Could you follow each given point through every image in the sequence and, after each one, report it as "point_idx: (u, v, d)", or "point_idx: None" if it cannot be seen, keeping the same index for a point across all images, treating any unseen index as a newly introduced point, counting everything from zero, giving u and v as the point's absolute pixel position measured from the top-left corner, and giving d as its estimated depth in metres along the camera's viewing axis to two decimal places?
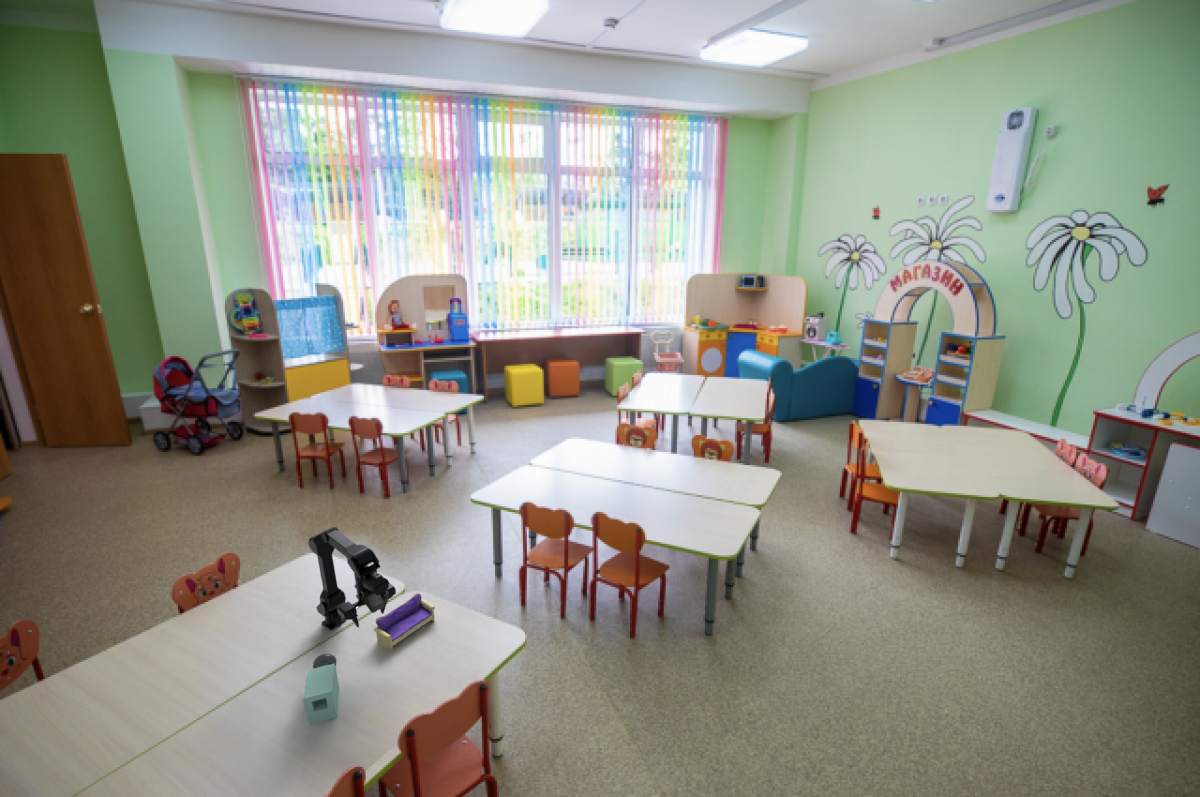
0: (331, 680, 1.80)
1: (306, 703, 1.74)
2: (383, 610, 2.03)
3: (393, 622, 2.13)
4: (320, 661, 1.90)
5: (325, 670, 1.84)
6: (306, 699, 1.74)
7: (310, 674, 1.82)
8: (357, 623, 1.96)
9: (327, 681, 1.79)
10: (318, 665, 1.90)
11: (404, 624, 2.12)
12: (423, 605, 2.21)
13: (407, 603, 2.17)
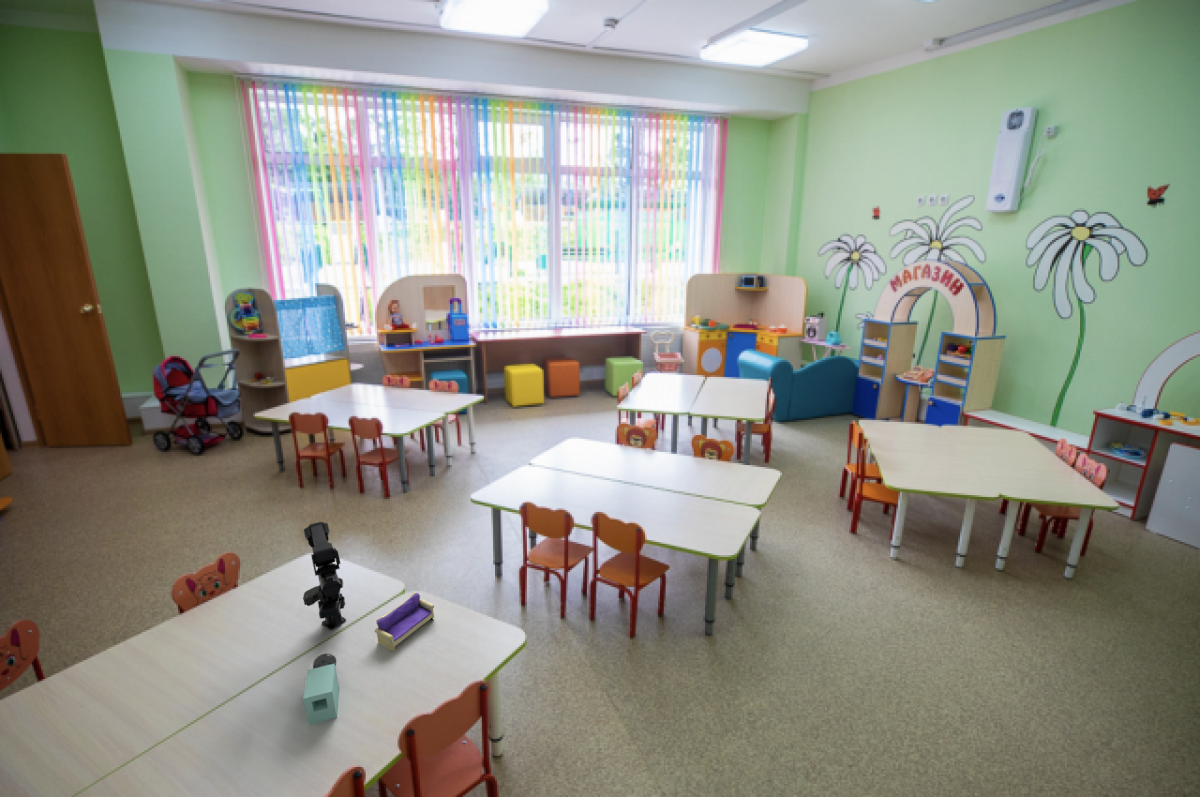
0: (331, 680, 1.80)
1: (306, 703, 1.74)
2: None
3: (393, 622, 2.12)
4: (320, 661, 1.90)
5: (325, 670, 1.84)
6: (306, 699, 1.74)
7: (310, 674, 1.82)
8: None
9: (327, 681, 1.79)
10: (318, 665, 1.90)
11: (404, 624, 2.12)
12: (422, 604, 2.22)
13: (407, 603, 2.17)
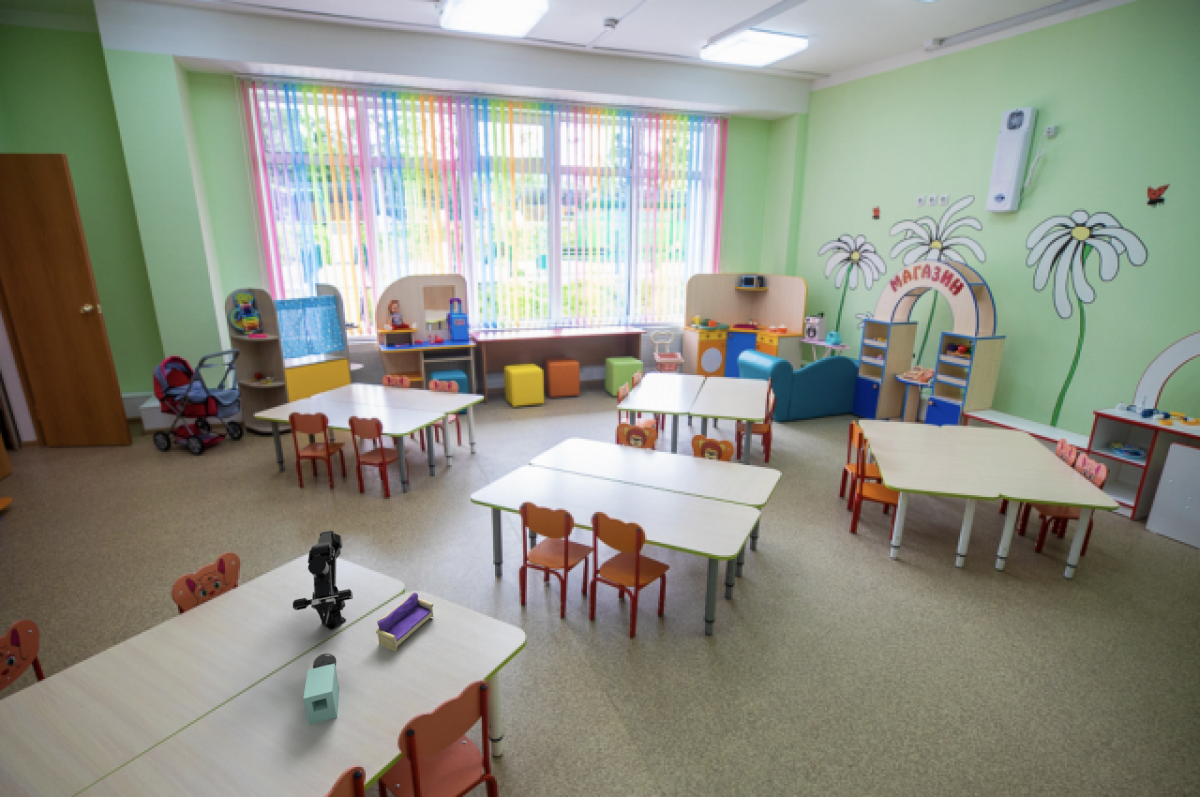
0: (331, 680, 1.80)
1: (306, 703, 1.74)
2: None
3: (394, 623, 2.12)
4: (320, 661, 1.90)
5: (325, 670, 1.84)
6: (306, 699, 1.74)
7: (310, 674, 1.82)
8: None
9: (327, 681, 1.79)
10: (318, 665, 1.90)
11: (405, 624, 2.12)
12: (420, 604, 2.22)
13: (406, 603, 2.17)
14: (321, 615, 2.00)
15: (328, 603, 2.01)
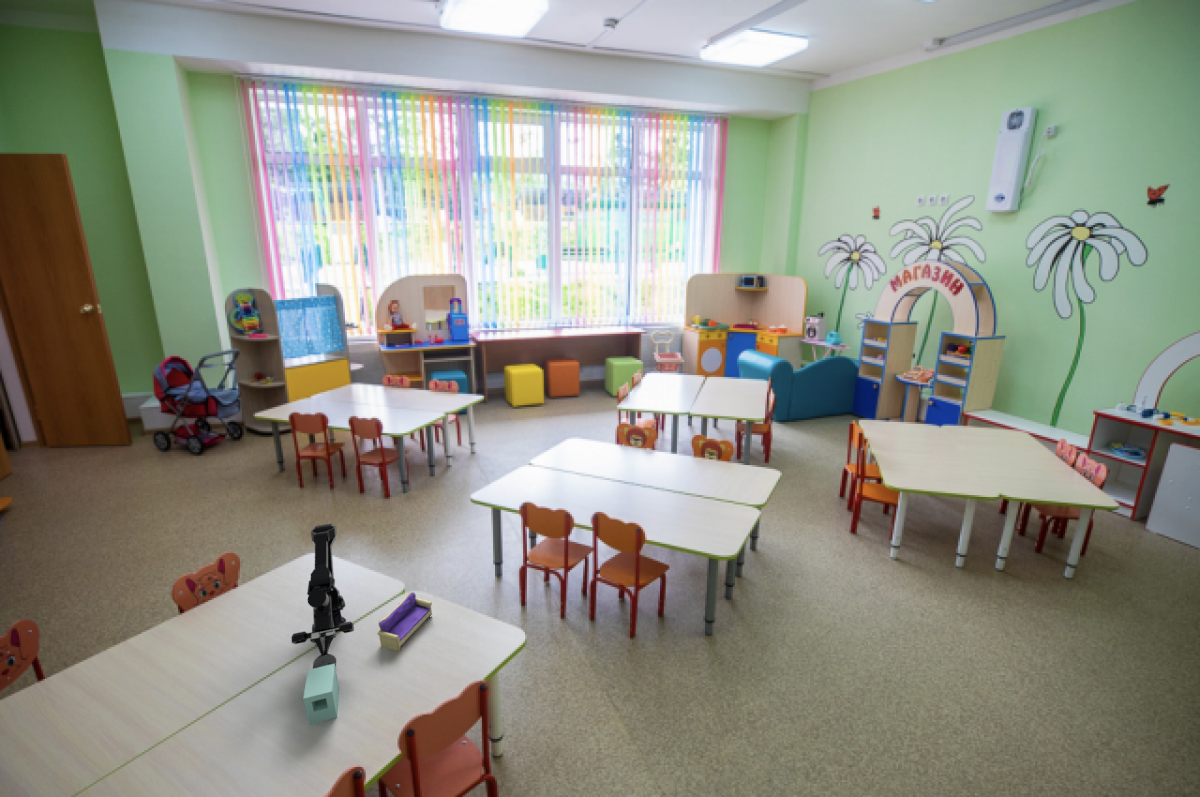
0: (331, 680, 1.80)
1: (306, 703, 1.74)
2: None
3: (394, 623, 2.12)
4: (320, 661, 1.90)
5: (325, 670, 1.84)
6: (306, 699, 1.74)
7: (310, 674, 1.82)
8: None
9: (327, 681, 1.79)
10: (318, 665, 1.90)
11: (406, 623, 2.12)
12: (418, 603, 2.22)
13: (405, 603, 2.17)
14: (321, 649, 1.92)
15: (328, 637, 1.93)
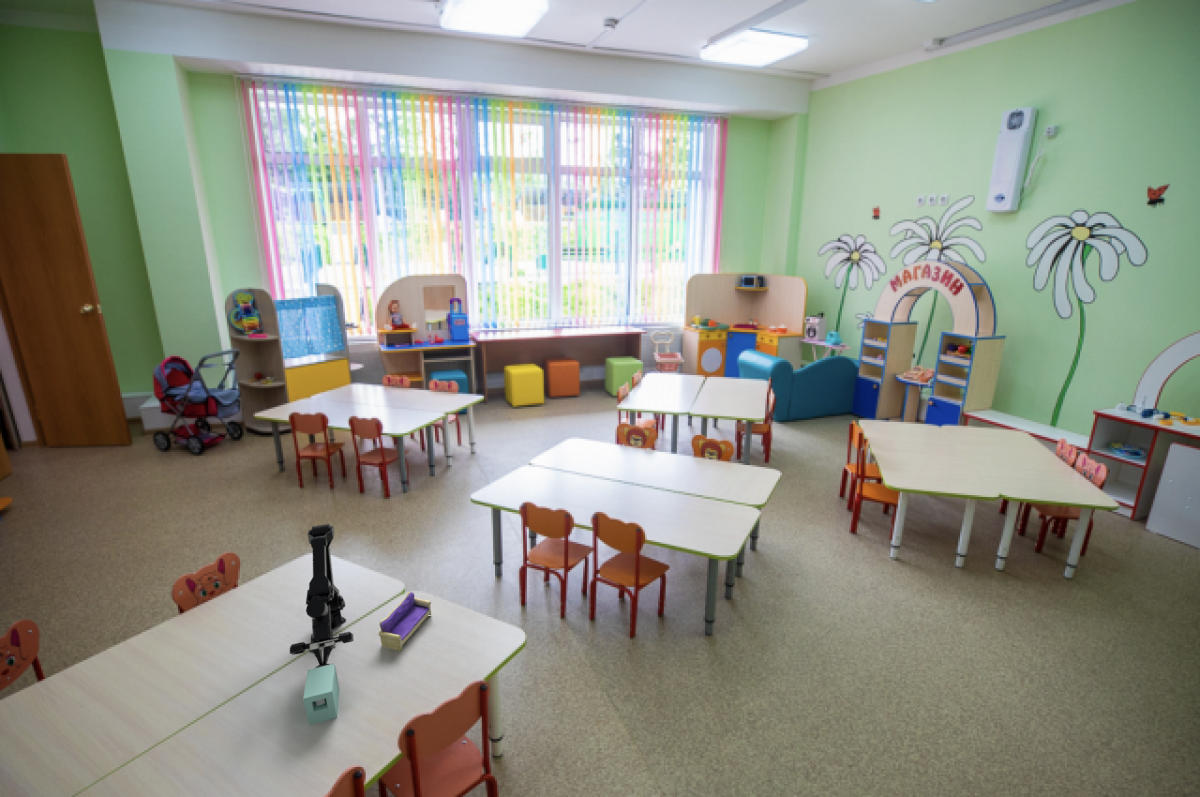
0: (331, 680, 1.80)
1: (306, 703, 1.74)
2: None
3: (394, 624, 2.12)
4: None
5: (325, 670, 1.84)
6: (306, 699, 1.74)
7: (310, 674, 1.82)
8: None
9: (327, 681, 1.79)
10: None
11: (407, 623, 2.13)
12: (417, 603, 2.23)
13: (404, 603, 2.17)
14: (320, 660, 1.88)
15: (327, 647, 1.89)
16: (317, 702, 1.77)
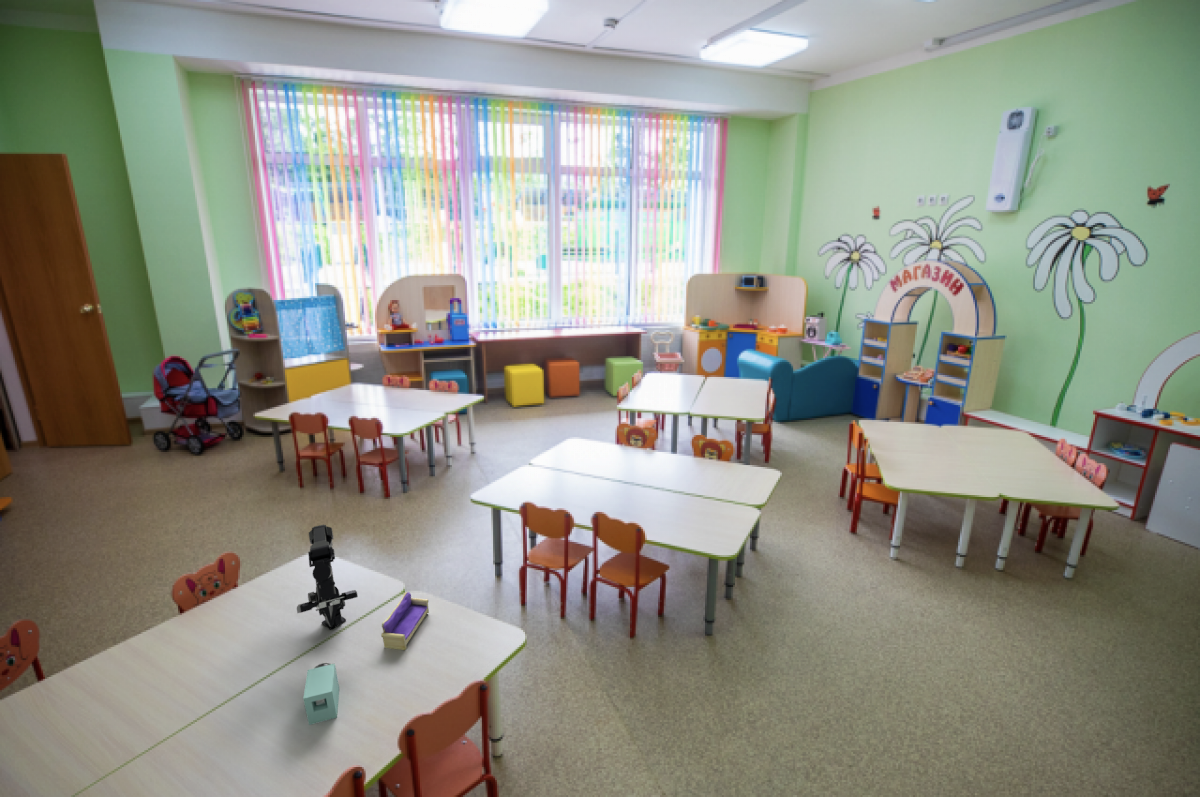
0: (331, 680, 1.80)
1: (306, 703, 1.74)
2: None
3: (395, 624, 2.12)
4: None
5: (325, 670, 1.84)
6: (306, 699, 1.74)
7: (310, 674, 1.82)
8: None
9: (327, 681, 1.79)
10: None
11: (408, 623, 2.13)
12: (414, 602, 2.23)
13: (403, 603, 2.17)
14: (329, 617, 1.98)
15: (336, 605, 2.00)
16: (317, 702, 1.77)
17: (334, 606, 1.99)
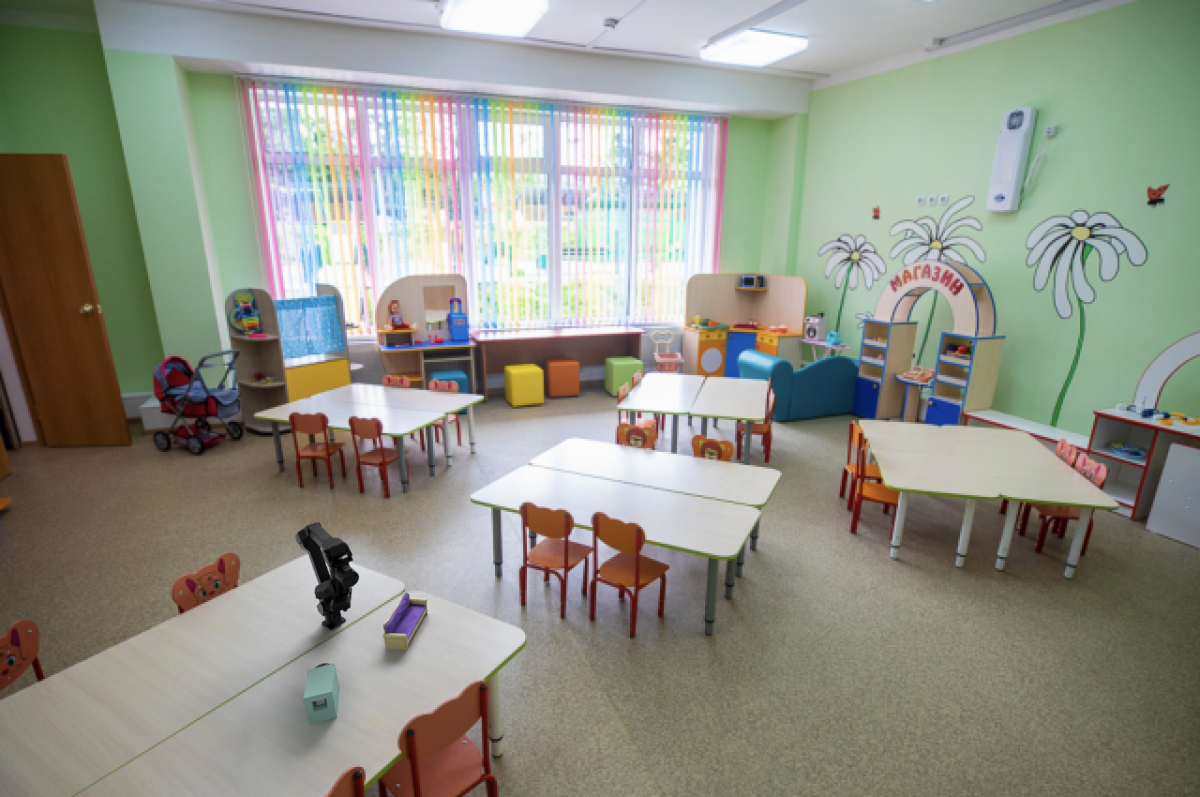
0: (331, 680, 1.80)
1: (306, 703, 1.74)
2: None
3: (396, 624, 2.11)
4: None
5: (325, 670, 1.84)
6: (306, 699, 1.74)
7: (310, 674, 1.82)
8: None
9: (327, 681, 1.79)
10: None
11: (408, 622, 2.13)
12: (413, 602, 2.23)
13: (402, 603, 2.17)
14: None
15: (351, 591, 2.08)
16: (317, 702, 1.77)
17: (351, 592, 2.07)
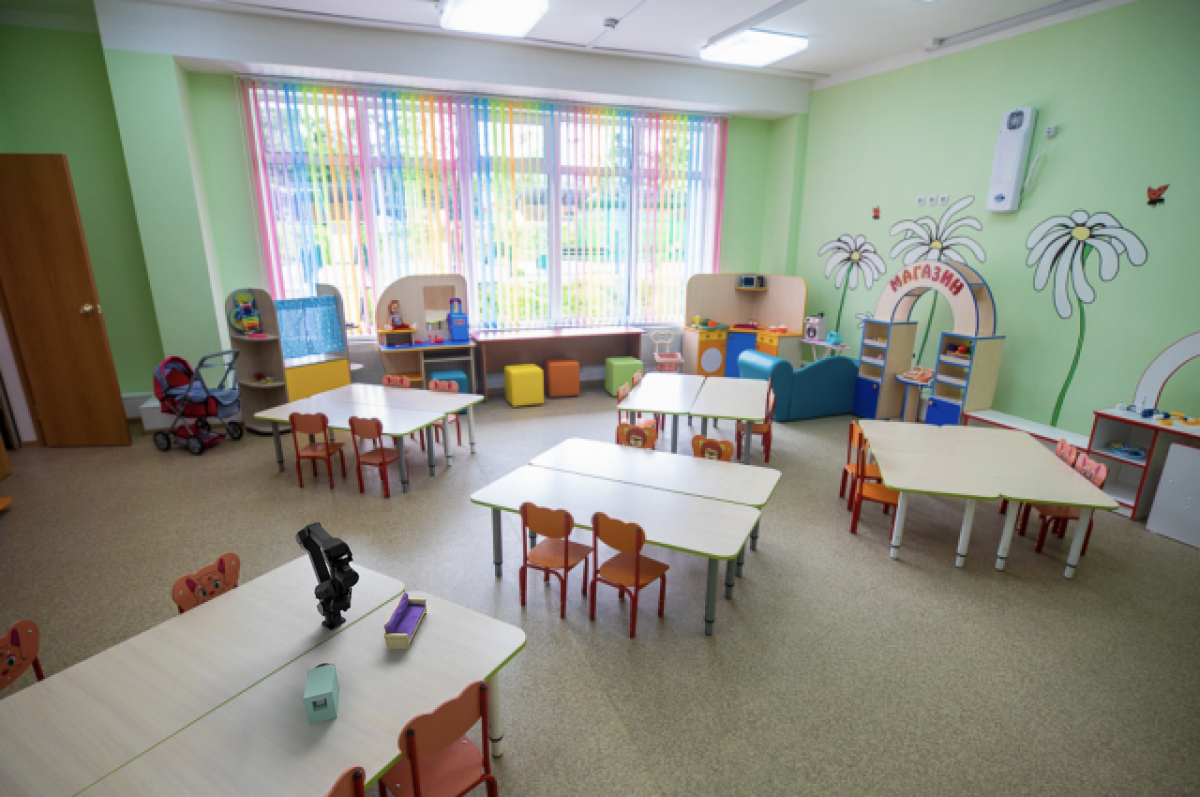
0: (331, 680, 1.80)
1: (306, 703, 1.74)
2: None
3: (396, 624, 2.11)
4: None
5: (325, 670, 1.84)
6: (306, 699, 1.74)
7: (310, 674, 1.82)
8: None
9: (327, 681, 1.79)
10: None
11: (408, 622, 2.13)
12: (412, 602, 2.23)
13: (402, 603, 2.17)
14: None
15: (351, 591, 2.08)
16: (317, 702, 1.77)
17: (351, 592, 2.07)
